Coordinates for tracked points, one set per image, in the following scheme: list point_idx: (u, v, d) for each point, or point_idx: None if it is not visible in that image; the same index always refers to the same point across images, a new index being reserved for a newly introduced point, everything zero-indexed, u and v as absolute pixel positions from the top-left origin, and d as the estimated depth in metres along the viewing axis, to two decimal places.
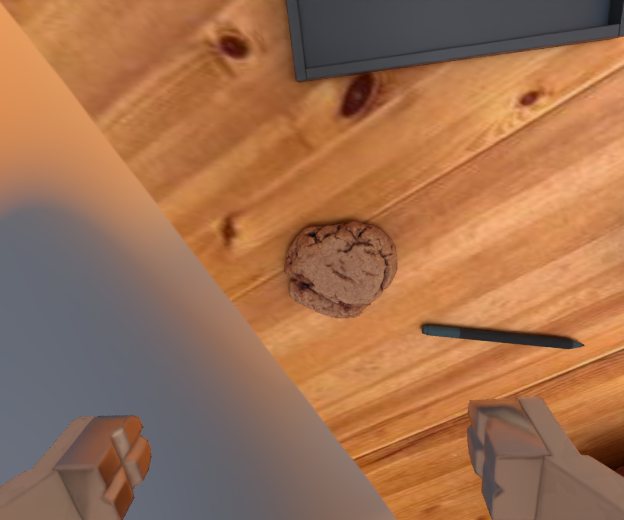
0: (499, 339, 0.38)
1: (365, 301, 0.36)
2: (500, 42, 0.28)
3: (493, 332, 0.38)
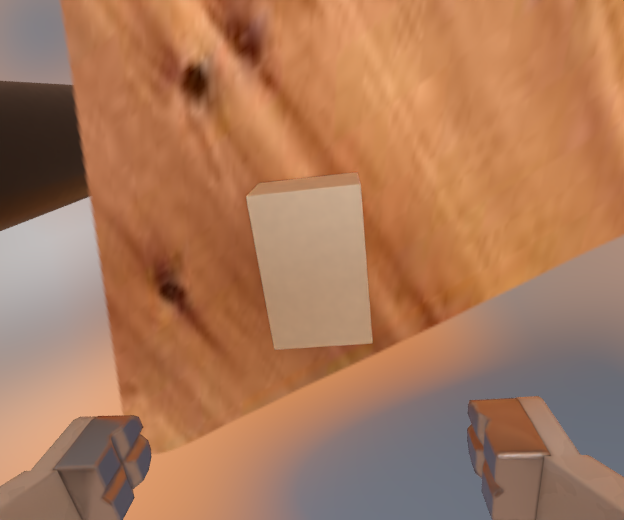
0: None
1: None
2: None
3: None
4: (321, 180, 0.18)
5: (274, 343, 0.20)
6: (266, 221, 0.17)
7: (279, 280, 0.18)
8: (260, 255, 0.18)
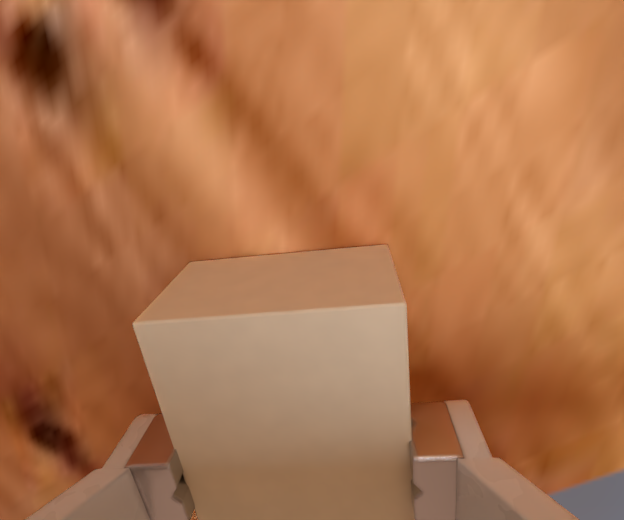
0: None
1: None
2: None
3: None
4: (312, 270, 0.08)
5: None
6: (184, 374, 0.08)
7: (221, 482, 0.09)
8: (177, 437, 0.08)
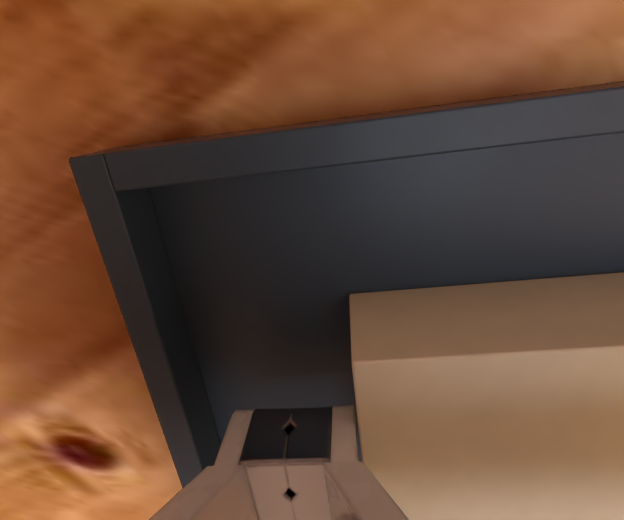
0: None
1: None
2: None
3: None
4: None
5: (373, 365, 0.08)
6: None
7: (556, 388, 0.08)
8: None
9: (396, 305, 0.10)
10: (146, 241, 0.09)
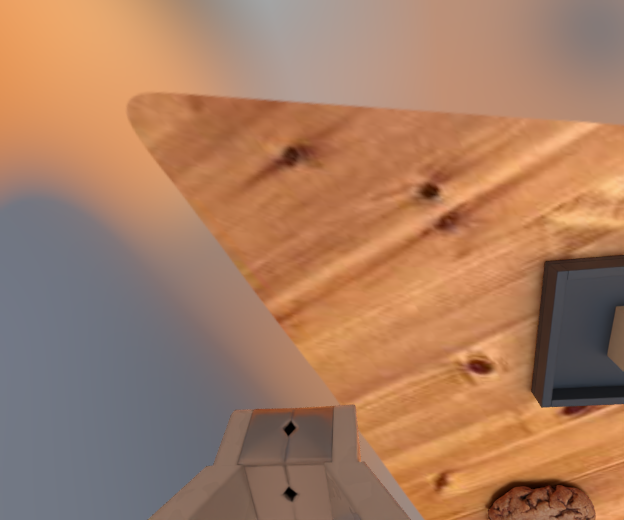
0: None
1: None
2: None
3: None
4: None
5: None
6: None
7: None
8: None
9: None
10: None
